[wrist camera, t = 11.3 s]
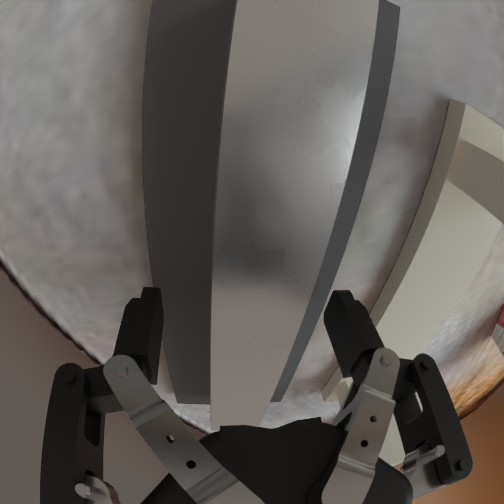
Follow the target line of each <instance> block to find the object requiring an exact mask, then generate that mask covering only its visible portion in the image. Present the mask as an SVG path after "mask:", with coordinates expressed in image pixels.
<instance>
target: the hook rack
mask: <svg viewBox="0 0 504 504" xmlns="http://www.w3.org/2000/svg"><path fill="white" fill-rule="evenodd" d="M503 224H504V129H503V128H502V127H500V126H499V125H497V124H496V123H495V122H493V121H492V120H490V119H489V118H487V117H486V116H484V115H483V114H481V113H480V112H478V111H477V110H475V109H474V108H472V107H470V106H469V105H467V104H465V103H462V102H459V101H456V100H452V99H450V102H449V107H448V111H447V116H446V120H445V124H444V128H443V132H442V136H441V140H440V144H439V147H438V151H437V154H436V158H435V161H434V164H433V168H432V171H431V174H430V177H429V180H428V183H427V186H426V189H425V192H424V195H423V197H422V200H421V203H420V206H419V208H418V211H417V214H416V216H415V219H414V221H413V224H412V226H411V229H410V231H409V233H408V236H407V238H406V241H405V243H404V245H403V248H402V250H401V252H400V254H399V256H398V259H397V261H396V263H395V265H394V267H393V269H392V272H391V274H390V276H389V278H388V280H387V282H386V284H385V286H384V288H383V290H382V292H381V294H380V296H379V298H378V299H377V301H376V303H375V305H374V307H373V309H372V311H371V313H370V314H369V315H370V316H369V317H371V319H372V321H373V324H374V326H375V328H376V330H377V332H378V334H379V336H380V338H381V340H382V342H383V344H384V346H385V348H388V349H391V350H392V351H394V352H395V353H396V354H397V355H398V357H399V358H403V359H410V360H413V359H414V358H415V357H416V356H417V355H418V354H422V353H423V351H424V350H425V349H426V348H427V347H428V345H429V344H430V343H431V342H432V340H433V339H434V338H435V336H436V335H437V334H438V332H439V331H440V330H441V328H442V327H443V326H444V324H445V323H446V322H447V320H448V319H449V317H450V316H451V314H452V313H453V312H454V310H455V309H456V307H457V306H458V304H459V303H460V301H461V300H462V298H463V297H464V295H465V293H466V292H467V290H468V289H469V287H470V285H471V284H472V282H473V280H474V279H475V277H476V275H477V274H478V272H479V270H480V268H481V267H482V265H483V263H484V261H485V259H486V257H487V255H488V254H489V252H490V250H491V248H492V246H493V244H494V242H495V240H496V238H497V235H498V233H499V231H500V229H501V227H502V225H503ZM352 382H353V379H352V377H348V378H343V375H342V372H341V369H340V367H339V366H338V368H337V369H336V371H335V372H334V374H333V375H332V377H331V378H330V380H329V381H328V383H327V384H326V386H325V387H324V388H323V390H322V391H321V393H322V396H323V400H324V402H327V401H333V400H338V401H339V404H340V407H342V404H343V402H344V400H345V397H346V395H347V392H348V390H349V388H350V385H351V383H352ZM415 395H416V397H417V400H418V403H419V406H420V409H421V411H422V404H421V402H420V399H419V397H418V395H417V392H416V393H415ZM379 457H380V458H381V459H383V460H384V461H385V462H387V463H388V464H390V465H391V466H395V465H397V464H400V463H402V462H403V460H404V458H405V452H404V448H403V444H402V441H401V437H400V434H399V430H398V427H397V424H396V420H395V417H394V414H392V418H391V421H390V424H389V428H388V431H387V434H386V437H385V440H384V443H383V446H382V449H381V451H380V454H379Z"/></svg>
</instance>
